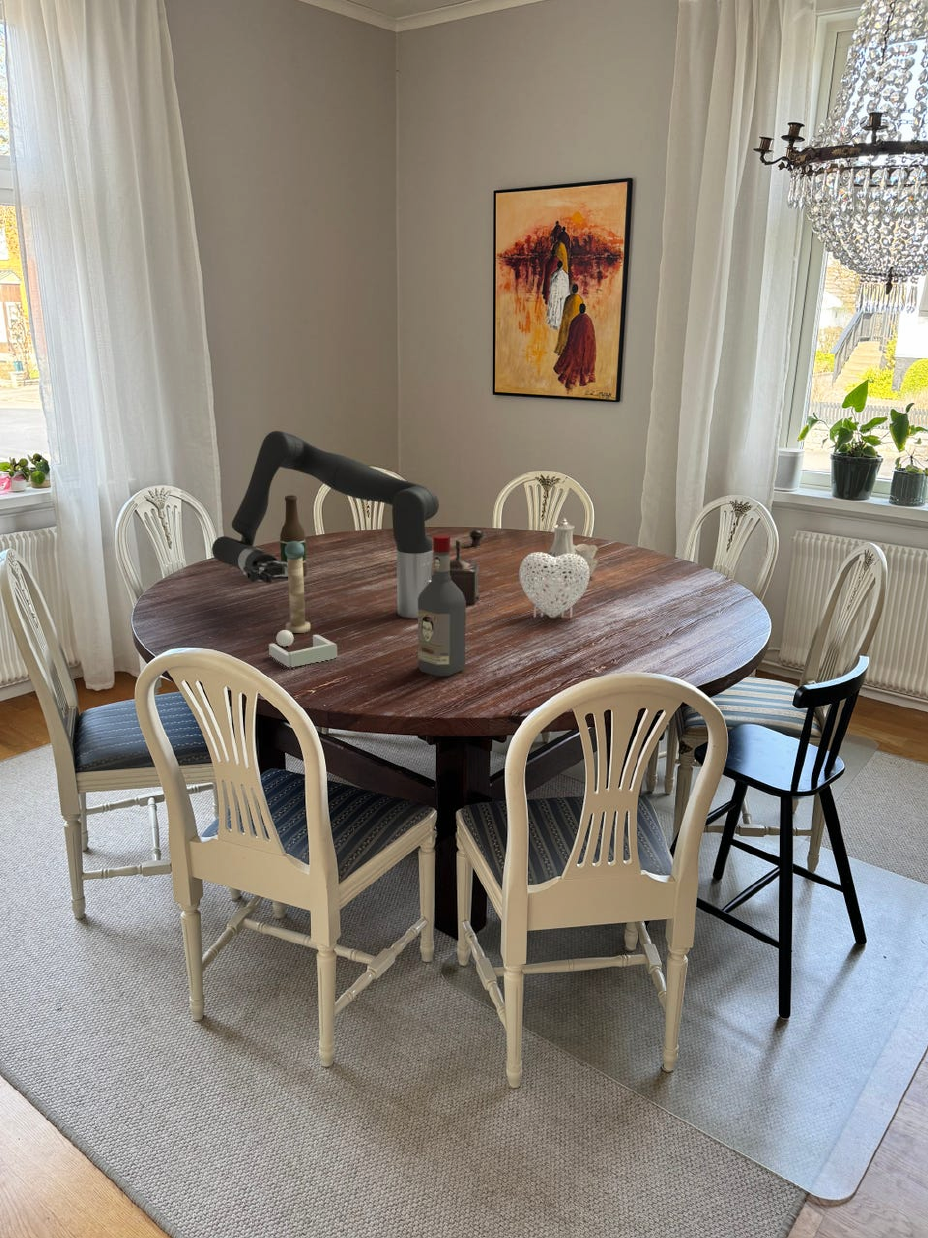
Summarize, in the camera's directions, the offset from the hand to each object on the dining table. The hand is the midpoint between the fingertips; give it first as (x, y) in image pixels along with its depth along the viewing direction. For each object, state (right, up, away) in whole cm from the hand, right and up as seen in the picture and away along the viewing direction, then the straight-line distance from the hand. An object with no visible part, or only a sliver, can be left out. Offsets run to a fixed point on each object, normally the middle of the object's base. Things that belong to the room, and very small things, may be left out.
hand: (285, 576), depth 232 cm
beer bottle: (-7, +2, +49) cm, 49 cm away
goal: (+8, -19, -19) cm, 28 cm away
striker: (+3, -13, 0) cm, 14 cm away
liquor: (+39, -22, -25) cm, 51 cm away
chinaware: (+78, +5, +59) cm, 98 cm away
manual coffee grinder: (+43, -4, +29) cm, 52 cm away
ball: (+2, -15, -12) cm, 20 cm away
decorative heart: (+67, -10, +12) cm, 69 cm away
